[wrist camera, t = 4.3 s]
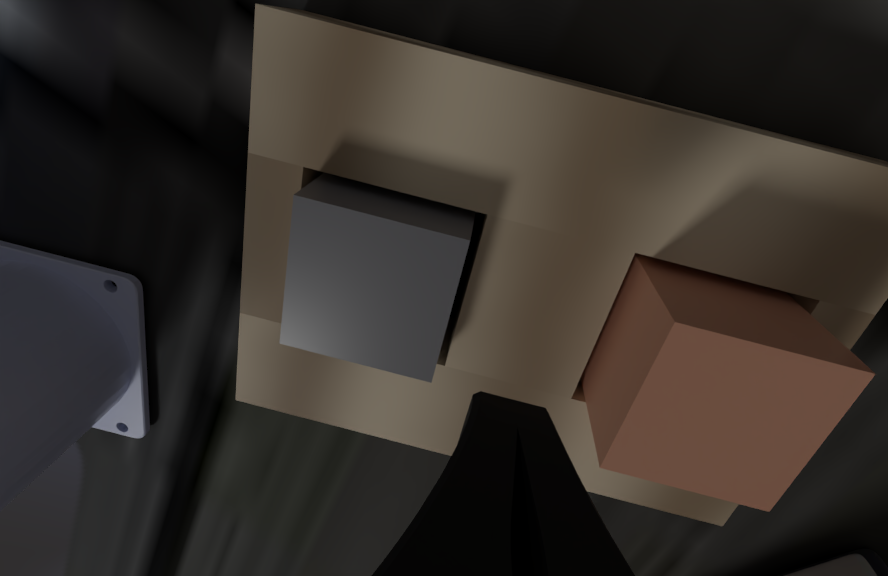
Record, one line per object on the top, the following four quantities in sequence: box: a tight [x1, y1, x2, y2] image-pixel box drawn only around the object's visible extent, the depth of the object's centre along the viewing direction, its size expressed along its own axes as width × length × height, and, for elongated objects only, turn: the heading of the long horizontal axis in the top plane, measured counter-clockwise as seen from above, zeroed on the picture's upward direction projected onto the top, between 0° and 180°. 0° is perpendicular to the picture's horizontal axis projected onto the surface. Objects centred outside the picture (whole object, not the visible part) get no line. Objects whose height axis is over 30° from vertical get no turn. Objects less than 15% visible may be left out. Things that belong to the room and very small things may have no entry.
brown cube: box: [581, 253, 875, 512], centre depth 14 cm, size 4×4×4 cm
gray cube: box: [280, 172, 476, 383], centre depth 15 cm, size 4×4×4 cm
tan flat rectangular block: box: [236, 4, 888, 526], centre depth 16 cm, size 17×12×3 cm
